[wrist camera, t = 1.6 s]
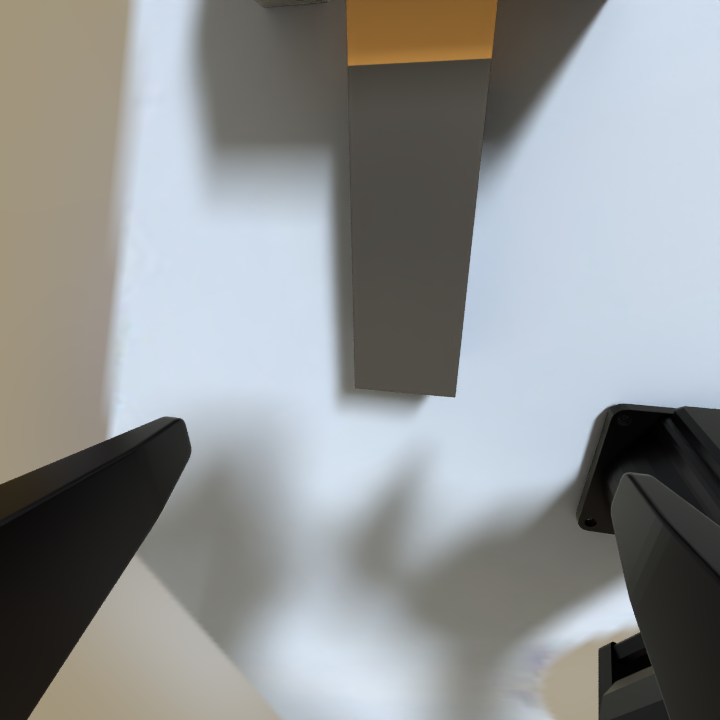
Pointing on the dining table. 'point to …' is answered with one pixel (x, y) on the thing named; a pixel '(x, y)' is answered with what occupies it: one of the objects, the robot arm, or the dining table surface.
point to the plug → (414, 183)
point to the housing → (286, 2)
